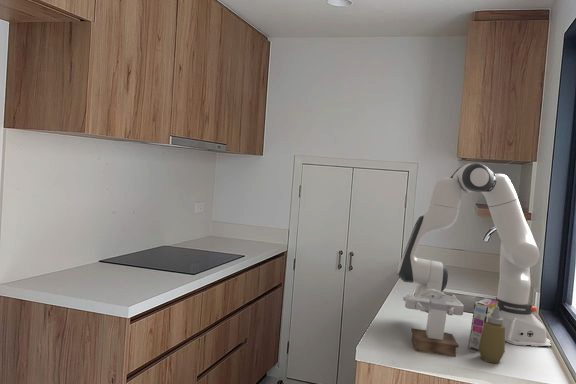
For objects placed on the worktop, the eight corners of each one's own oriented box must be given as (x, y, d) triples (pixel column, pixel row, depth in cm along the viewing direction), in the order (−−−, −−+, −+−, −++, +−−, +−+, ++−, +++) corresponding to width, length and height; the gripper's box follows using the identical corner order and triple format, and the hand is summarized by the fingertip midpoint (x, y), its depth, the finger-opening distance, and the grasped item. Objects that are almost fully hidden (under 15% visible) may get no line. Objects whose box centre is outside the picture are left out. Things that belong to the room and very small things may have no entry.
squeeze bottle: (506, 361, 174) (514, 308, 173) (497, 367, 168) (505, 312, 167) (482, 353, 179) (489, 301, 178) (473, 358, 173) (480, 305, 172)
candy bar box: (482, 352, 181) (488, 305, 180) (467, 347, 184) (473, 301, 183) (492, 345, 189) (498, 300, 188) (479, 341, 192) (484, 297, 191)
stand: (450, 344, 185) (451, 333, 185) (457, 357, 173) (458, 345, 173) (410, 339, 186) (411, 328, 186) (414, 351, 175) (415, 339, 174)
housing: (440, 335, 182) (445, 301, 181) (443, 340, 177) (447, 305, 176) (425, 332, 182) (429, 299, 182) (427, 337, 177) (431, 303, 176)
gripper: (403, 288, 195) (407, 297, 181) (459, 295, 193) (468, 306, 179) (401, 305, 196) (405, 315, 182) (457, 312, 193) (465, 324, 180)
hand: (436, 311), depth 180 cm, fingers open, 8 cm apart
